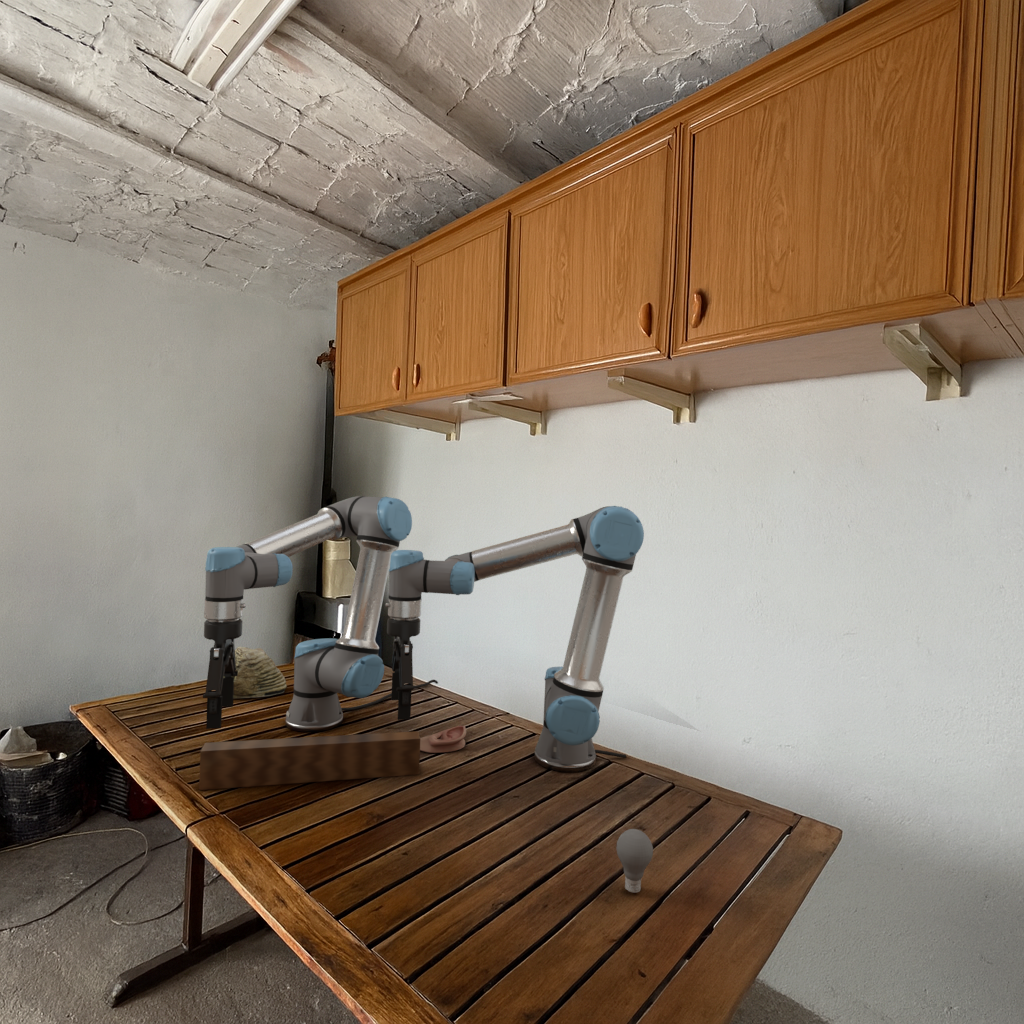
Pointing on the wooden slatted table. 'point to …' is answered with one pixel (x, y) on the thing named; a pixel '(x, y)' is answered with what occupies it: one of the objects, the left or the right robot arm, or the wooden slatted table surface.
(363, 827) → the wooden slatted table surface
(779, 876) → the wooden slatted table surface
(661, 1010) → the wooden slatted table surface
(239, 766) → the plank
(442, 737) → the anatomical model
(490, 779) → the wooden slatted table surface
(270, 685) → the fossil
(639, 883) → the light bulb
